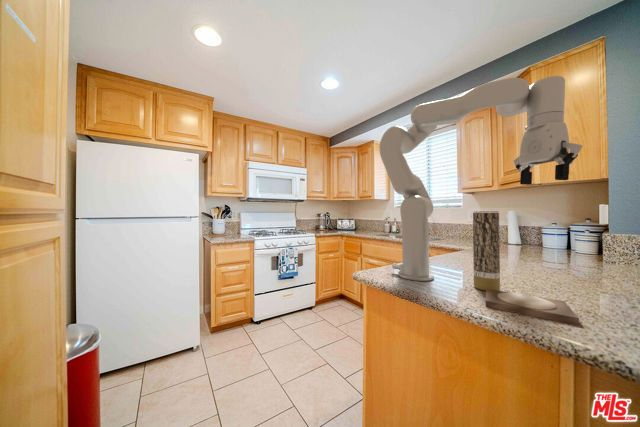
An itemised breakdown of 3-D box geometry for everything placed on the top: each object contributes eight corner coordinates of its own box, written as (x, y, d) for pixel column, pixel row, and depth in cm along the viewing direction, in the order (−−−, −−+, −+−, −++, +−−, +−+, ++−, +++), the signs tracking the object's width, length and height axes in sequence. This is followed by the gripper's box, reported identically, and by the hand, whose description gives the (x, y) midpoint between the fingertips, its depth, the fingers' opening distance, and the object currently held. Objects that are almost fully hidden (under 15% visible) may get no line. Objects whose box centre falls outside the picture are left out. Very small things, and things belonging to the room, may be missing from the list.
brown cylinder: (490, 285, 74) (489, 211, 75) (505, 292, 68) (504, 211, 68) (469, 285, 75) (468, 211, 75) (482, 292, 68) (481, 211, 69)
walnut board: (485, 306, 57) (485, 299, 57) (486, 293, 66) (486, 287, 67) (579, 325, 47) (578, 316, 47) (564, 307, 57) (564, 300, 57)
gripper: (505, 133, 72) (503, 185, 73) (567, 108, 55) (565, 177, 55) (527, 134, 73) (525, 186, 73) (595, 110, 56) (592, 178, 56)
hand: (542, 182), depth 64 cm, fingers open, 9 cm apart
